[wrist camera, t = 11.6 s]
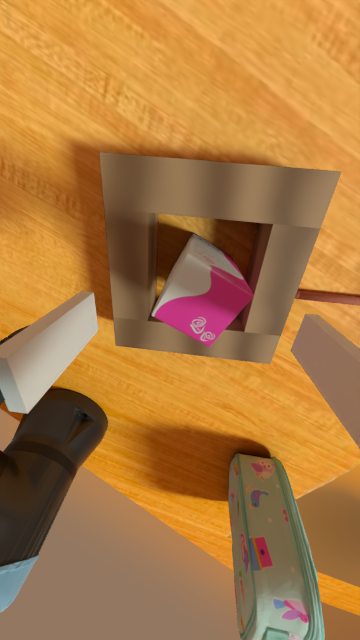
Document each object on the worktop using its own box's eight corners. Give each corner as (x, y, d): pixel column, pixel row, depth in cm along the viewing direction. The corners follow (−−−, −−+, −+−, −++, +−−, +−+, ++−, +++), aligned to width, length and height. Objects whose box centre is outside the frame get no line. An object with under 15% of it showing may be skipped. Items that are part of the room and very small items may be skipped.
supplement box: (168, 275, 26) (147, 315, 16) (193, 231, 23) (187, 246, 13) (206, 298, 27) (210, 350, 17) (234, 259, 24) (259, 292, 14)
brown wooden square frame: (128, 325, 30) (115, 345, 25) (120, 164, 21) (99, 151, 16) (259, 340, 29) (270, 363, 25) (310, 180, 20) (341, 171, 16)
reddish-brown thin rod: (290, 296, 26) (293, 299, 25) (292, 289, 25) (296, 291, 24) (397, 307, 25) (404, 311, 24) (402, 300, 25) (409, 303, 24)
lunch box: (267, 508, 51) (306, 679, 33) (226, 505, 53) (240, 668, 34) (282, 443, 39) (358, 658, 20) (228, 442, 40) (252, 642, 22)
